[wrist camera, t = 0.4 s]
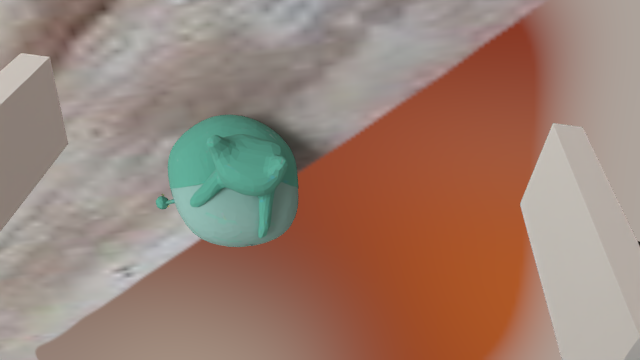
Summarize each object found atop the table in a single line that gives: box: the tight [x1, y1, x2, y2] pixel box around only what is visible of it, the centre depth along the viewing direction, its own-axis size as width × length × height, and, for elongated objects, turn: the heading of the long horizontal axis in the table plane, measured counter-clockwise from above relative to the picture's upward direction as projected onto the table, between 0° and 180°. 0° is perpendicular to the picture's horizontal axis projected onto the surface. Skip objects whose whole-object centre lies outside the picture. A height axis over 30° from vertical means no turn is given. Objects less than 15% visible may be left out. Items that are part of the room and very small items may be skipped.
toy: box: [156, 115, 298, 247], centre depth 42 cm, size 10×10×15 cm
